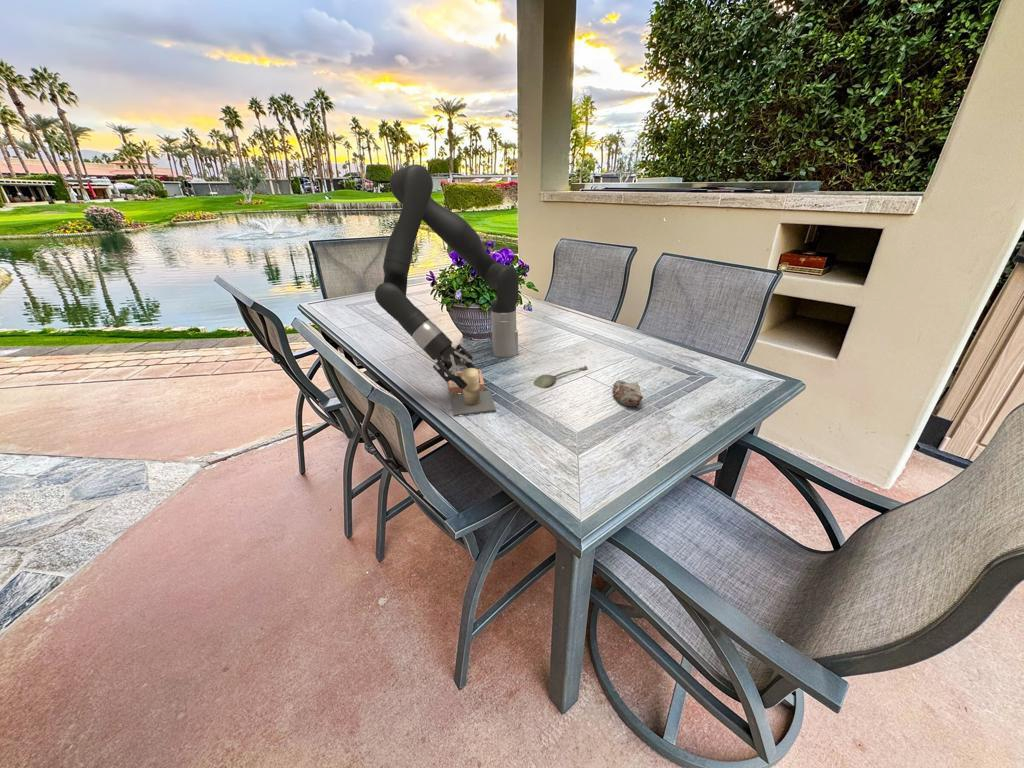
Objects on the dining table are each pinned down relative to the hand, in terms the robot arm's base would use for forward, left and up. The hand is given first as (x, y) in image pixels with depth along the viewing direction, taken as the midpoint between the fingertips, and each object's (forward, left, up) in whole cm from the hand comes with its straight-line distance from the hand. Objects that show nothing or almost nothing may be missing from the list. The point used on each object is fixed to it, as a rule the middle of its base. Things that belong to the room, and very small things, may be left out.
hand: (471, 380), depth 114 cm
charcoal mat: (0, 0, -8) cm, 8 cm away
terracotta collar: (+1, -13, -8) cm, 15 cm away
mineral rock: (-45, +7, -8) cm, 47 cm away
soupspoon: (-31, -11, -9) cm, 34 cm away
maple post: (0, 0, -7) cm, 7 cm away
